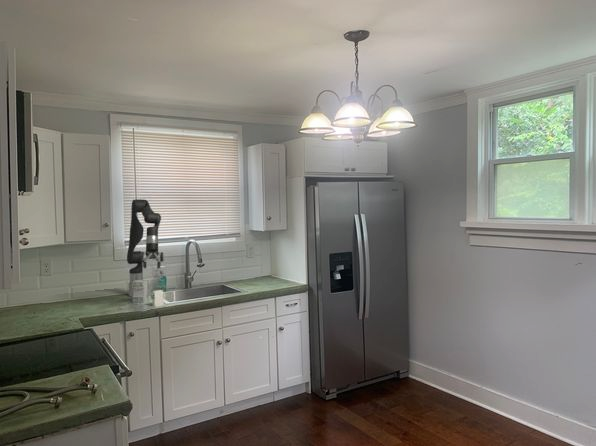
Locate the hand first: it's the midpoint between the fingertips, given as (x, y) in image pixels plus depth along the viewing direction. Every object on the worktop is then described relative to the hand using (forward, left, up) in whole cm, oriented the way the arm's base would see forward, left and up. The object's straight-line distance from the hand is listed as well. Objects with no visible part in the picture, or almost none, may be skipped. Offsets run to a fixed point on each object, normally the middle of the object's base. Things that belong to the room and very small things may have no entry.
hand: (151, 268), depth 285 cm
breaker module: (-7, +14, -28) cm, 32 cm away
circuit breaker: (-26, +21, -28) cm, 43 cm away
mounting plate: (-15, +3, -28) cm, 31 cm away
